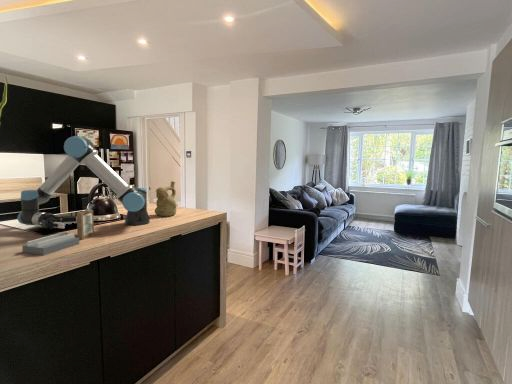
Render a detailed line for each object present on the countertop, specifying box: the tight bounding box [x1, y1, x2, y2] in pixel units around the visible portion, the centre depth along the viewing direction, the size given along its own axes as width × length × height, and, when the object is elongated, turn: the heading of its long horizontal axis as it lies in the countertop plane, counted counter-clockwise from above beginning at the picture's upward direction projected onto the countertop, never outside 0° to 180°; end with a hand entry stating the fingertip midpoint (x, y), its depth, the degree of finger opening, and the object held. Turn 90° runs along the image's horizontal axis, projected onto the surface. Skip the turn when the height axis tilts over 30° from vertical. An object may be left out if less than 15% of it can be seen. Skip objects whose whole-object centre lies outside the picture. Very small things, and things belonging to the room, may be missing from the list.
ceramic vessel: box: [154, 180, 178, 217], centre depth 217 cm, size 17×20×25 cm
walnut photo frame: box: [76, 209, 95, 241], centre depth 152 cm, size 9×3×14 cm, turn 173°
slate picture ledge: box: [22, 231, 80, 256], centre depth 134 cm, size 18×12×5 cm, turn 165°
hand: (75, 222), depth 153 cm, fingers open, 13 cm apart
